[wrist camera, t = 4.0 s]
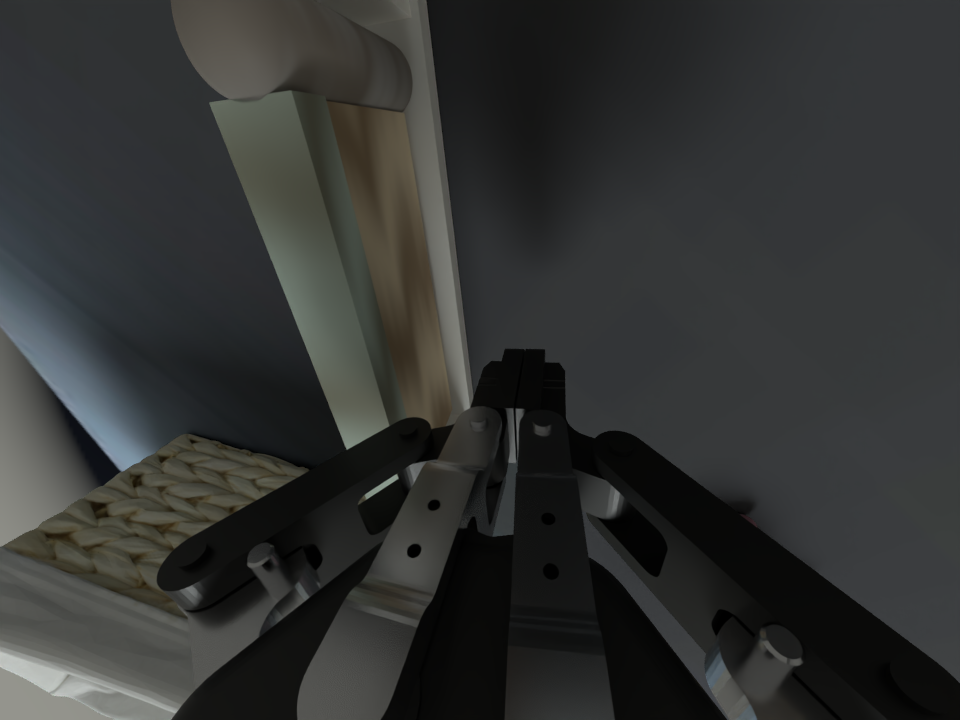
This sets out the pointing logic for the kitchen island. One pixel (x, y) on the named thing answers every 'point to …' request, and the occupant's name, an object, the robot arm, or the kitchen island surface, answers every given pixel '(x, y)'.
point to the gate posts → (426, 173)
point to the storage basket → (122, 579)
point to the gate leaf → (330, 196)
